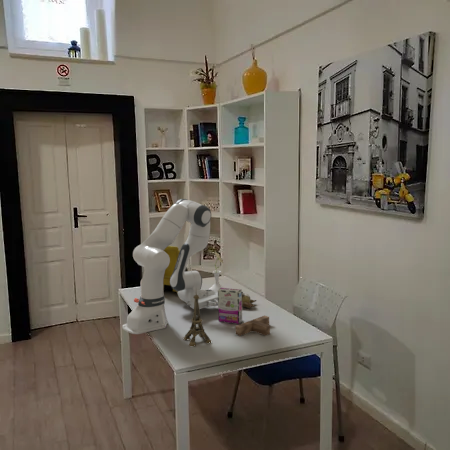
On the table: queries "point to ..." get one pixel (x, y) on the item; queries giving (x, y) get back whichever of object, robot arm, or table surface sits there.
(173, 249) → the vintage telephone
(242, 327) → the walnut T stop
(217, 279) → the flower in vase
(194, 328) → the eiffel tower
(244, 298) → the ceramic sculpture
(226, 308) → the candy bar box
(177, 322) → the table surface
